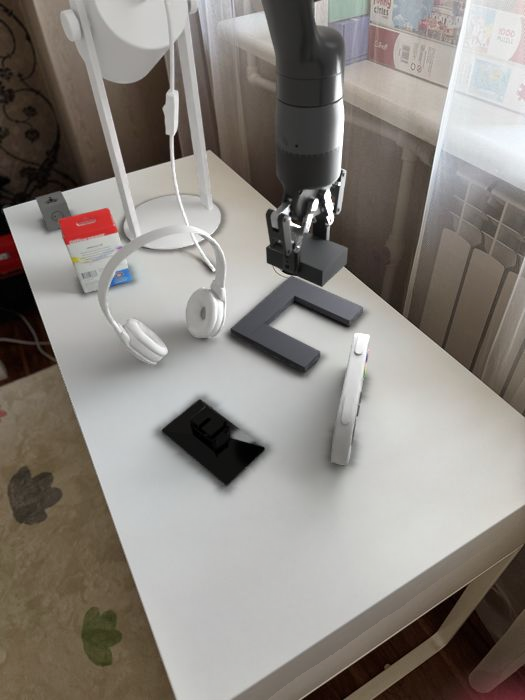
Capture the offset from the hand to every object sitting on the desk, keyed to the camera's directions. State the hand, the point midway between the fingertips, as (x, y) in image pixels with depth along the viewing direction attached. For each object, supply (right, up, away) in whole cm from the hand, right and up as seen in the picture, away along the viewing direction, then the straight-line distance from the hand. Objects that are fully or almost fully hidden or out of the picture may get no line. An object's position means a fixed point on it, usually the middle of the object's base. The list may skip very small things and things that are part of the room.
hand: (306, 258), depth 72 cm
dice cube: (-47, +14, +37) cm, 62 cm away
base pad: (0, -8, +13) cm, 15 cm away
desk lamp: (-22, +11, +33) cm, 41 cm away
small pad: (0, -1, +1) cm, 1 cm away
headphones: (-19, -12, +11) cm, 25 cm away
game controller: (+6, -21, 0) cm, 22 cm away
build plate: (-12, -24, -2) cm, 27 cm away
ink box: (-34, 0, +23) cm, 41 cm away
